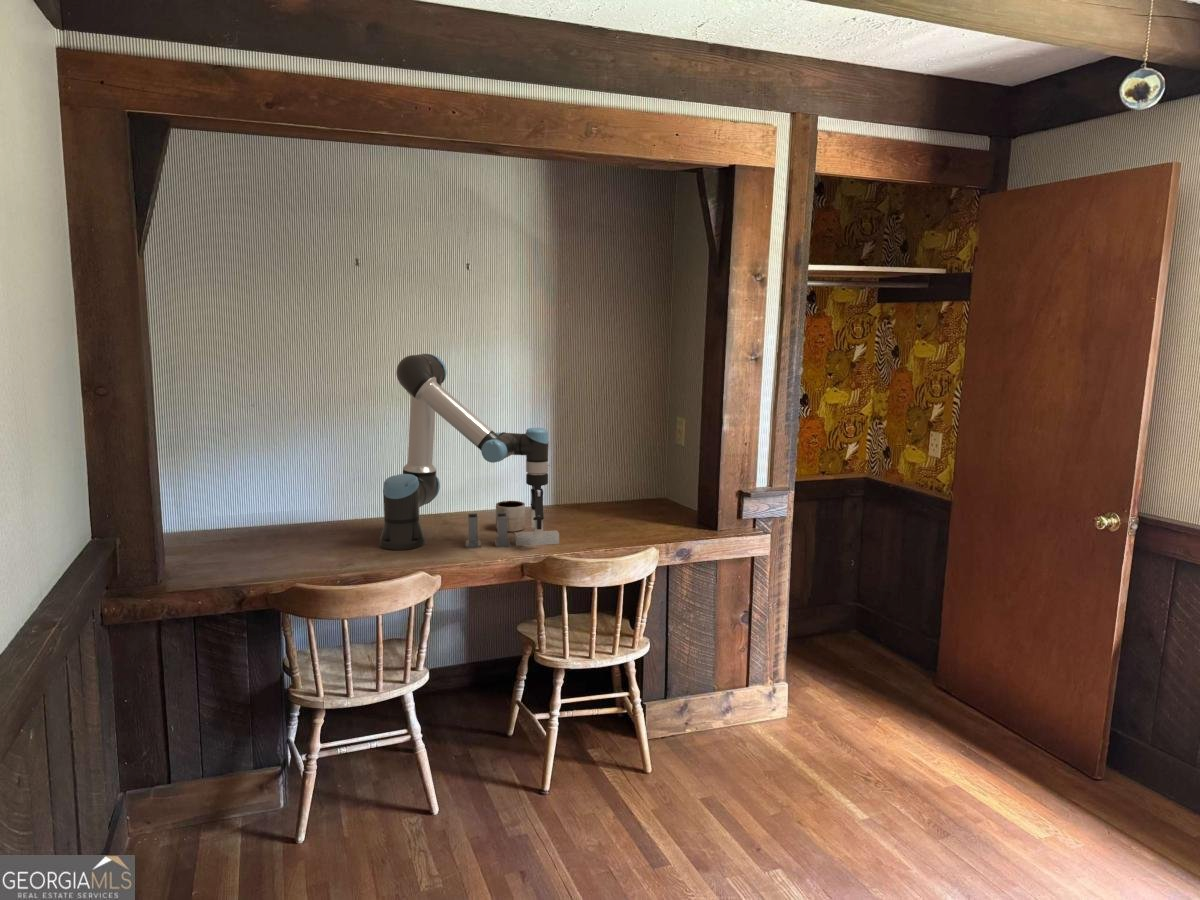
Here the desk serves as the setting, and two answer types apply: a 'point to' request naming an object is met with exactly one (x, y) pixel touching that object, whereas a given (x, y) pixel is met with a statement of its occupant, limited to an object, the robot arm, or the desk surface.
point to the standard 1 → (473, 531)
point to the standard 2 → (502, 531)
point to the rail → (530, 539)
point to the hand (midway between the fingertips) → (536, 532)
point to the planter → (512, 514)
